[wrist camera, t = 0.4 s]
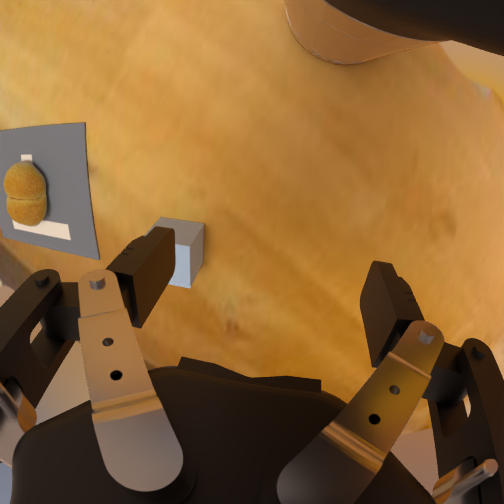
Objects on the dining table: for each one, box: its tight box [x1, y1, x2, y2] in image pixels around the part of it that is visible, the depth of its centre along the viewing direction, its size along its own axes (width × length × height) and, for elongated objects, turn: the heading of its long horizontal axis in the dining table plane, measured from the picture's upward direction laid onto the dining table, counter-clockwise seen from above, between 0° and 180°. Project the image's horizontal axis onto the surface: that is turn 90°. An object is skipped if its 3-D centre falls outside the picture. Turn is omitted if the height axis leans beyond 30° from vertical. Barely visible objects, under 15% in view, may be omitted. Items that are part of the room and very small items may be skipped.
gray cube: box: [144, 217, 204, 288], centre depth 32 cm, size 5×5×5 cm
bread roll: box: [3, 161, 47, 227], centre depth 31 cm, size 8×9×4 cm
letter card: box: [0, 123, 100, 260], centre depth 33 cm, size 18×22×1 cm
